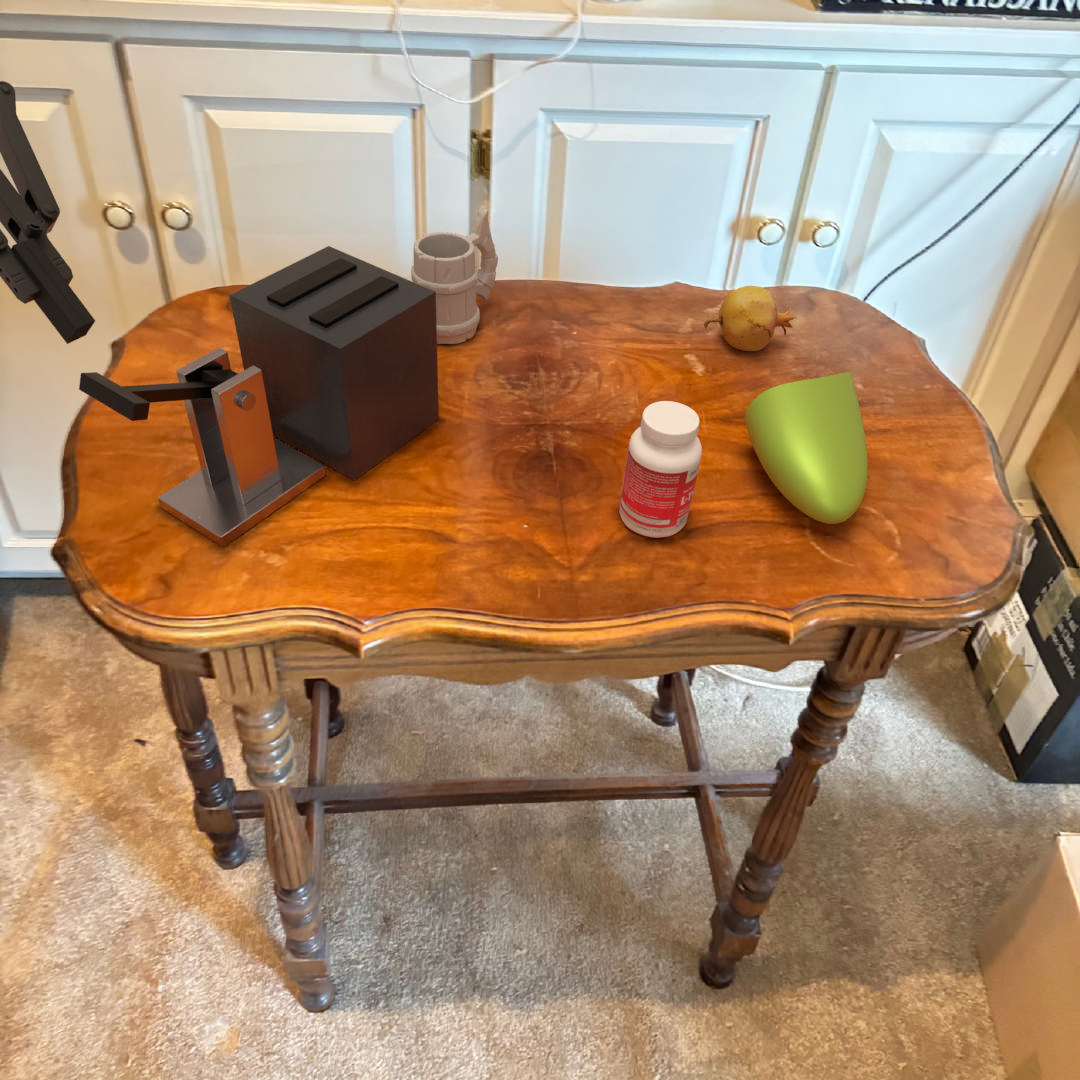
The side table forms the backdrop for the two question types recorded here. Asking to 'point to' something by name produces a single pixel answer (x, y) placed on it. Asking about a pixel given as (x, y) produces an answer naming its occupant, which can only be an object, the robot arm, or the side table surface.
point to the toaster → (342, 357)
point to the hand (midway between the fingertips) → (81, 332)
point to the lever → (149, 392)
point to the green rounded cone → (812, 444)
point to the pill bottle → (661, 470)
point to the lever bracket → (235, 457)
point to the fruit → (750, 318)
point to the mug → (456, 277)
